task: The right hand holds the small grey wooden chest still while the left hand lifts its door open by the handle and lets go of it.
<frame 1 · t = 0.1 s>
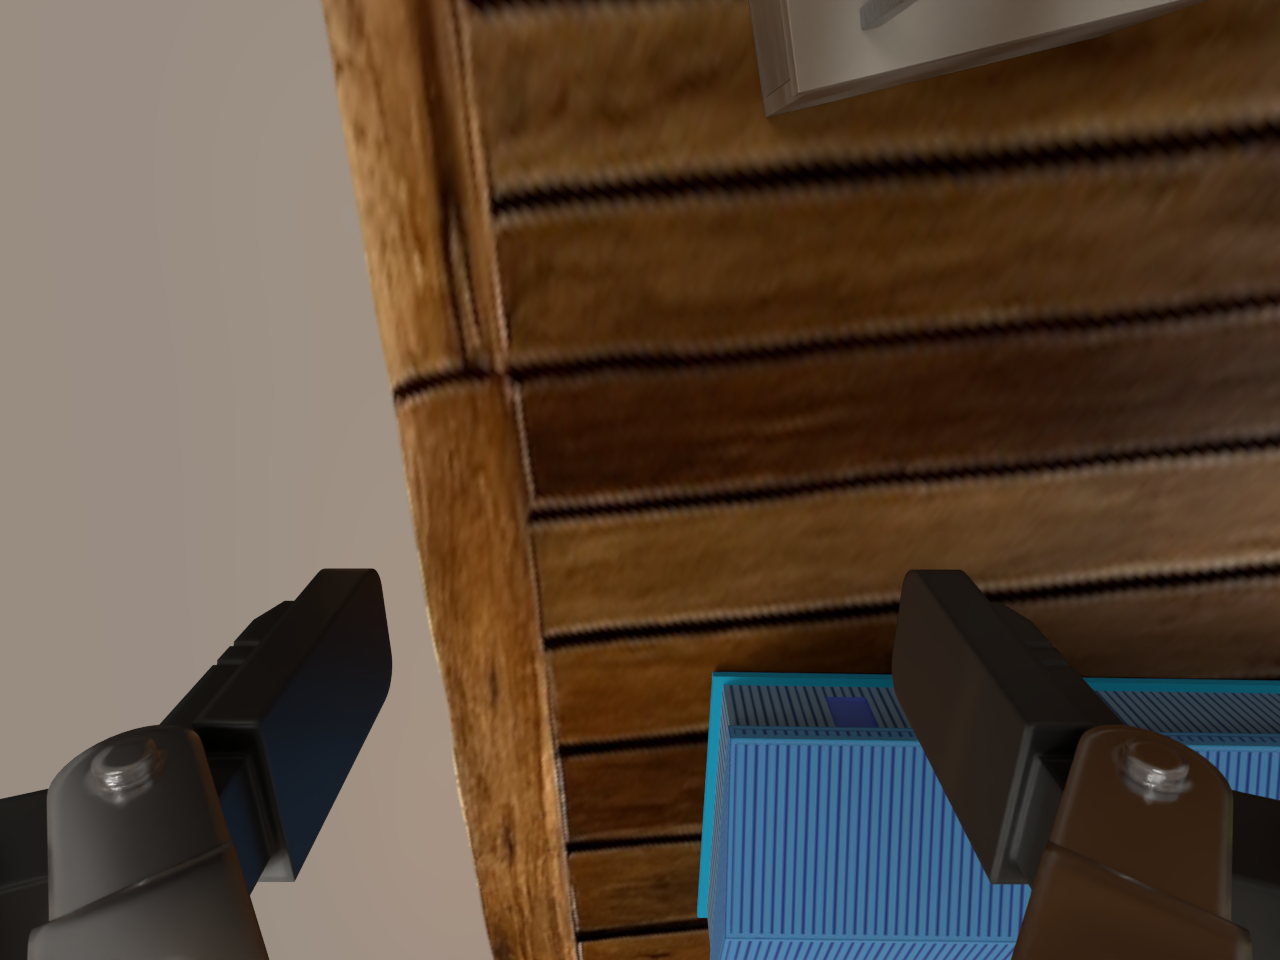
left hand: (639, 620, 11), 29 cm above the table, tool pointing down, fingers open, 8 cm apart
model building: (987, 817, 51), on the table
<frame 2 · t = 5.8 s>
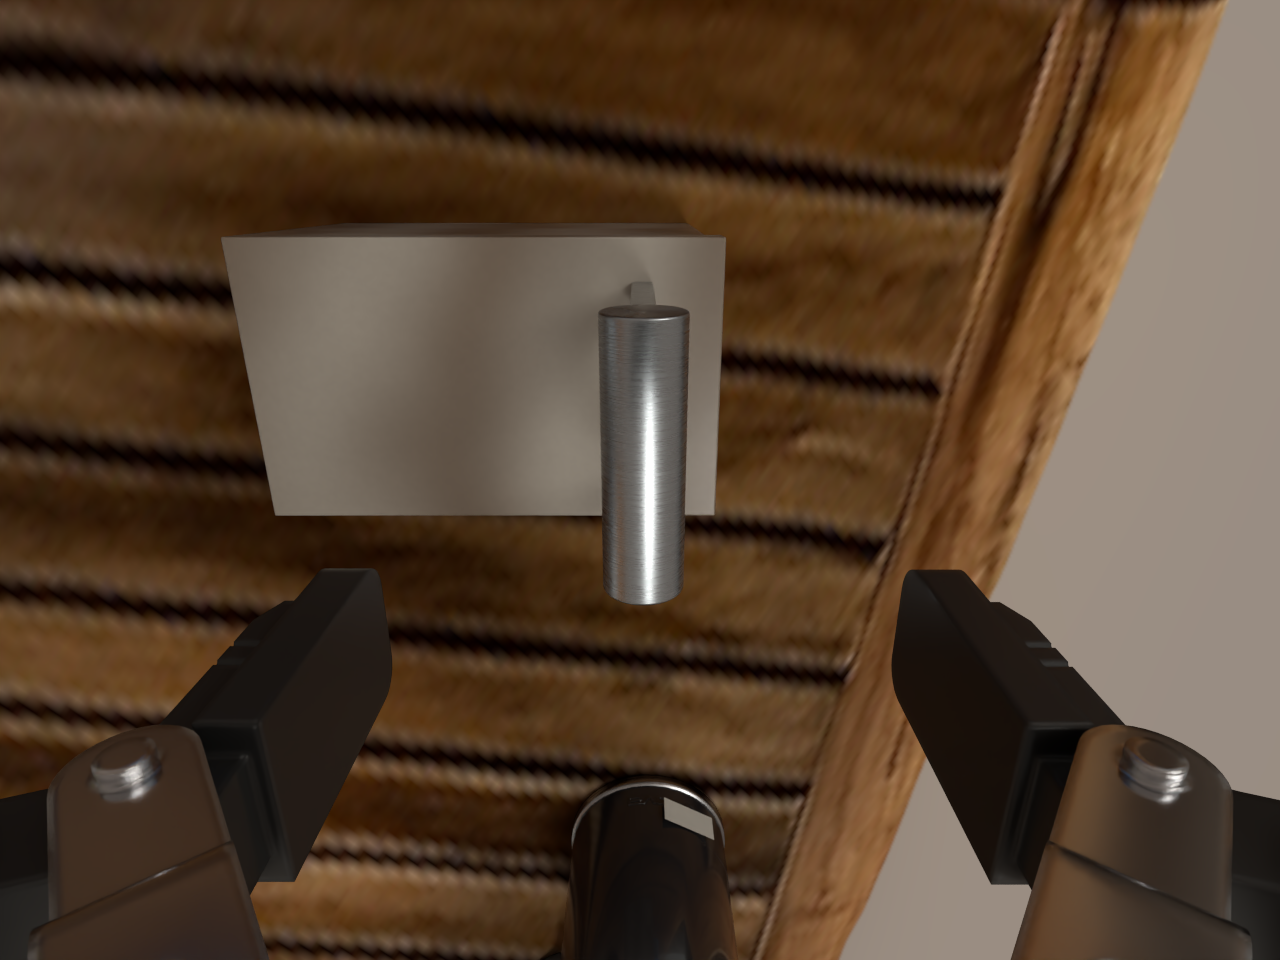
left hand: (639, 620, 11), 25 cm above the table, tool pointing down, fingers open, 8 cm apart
chest: (522, 330, 35), on the table
door: (461, 416, 22), point 14 cm above the table, hinge at 0.0°
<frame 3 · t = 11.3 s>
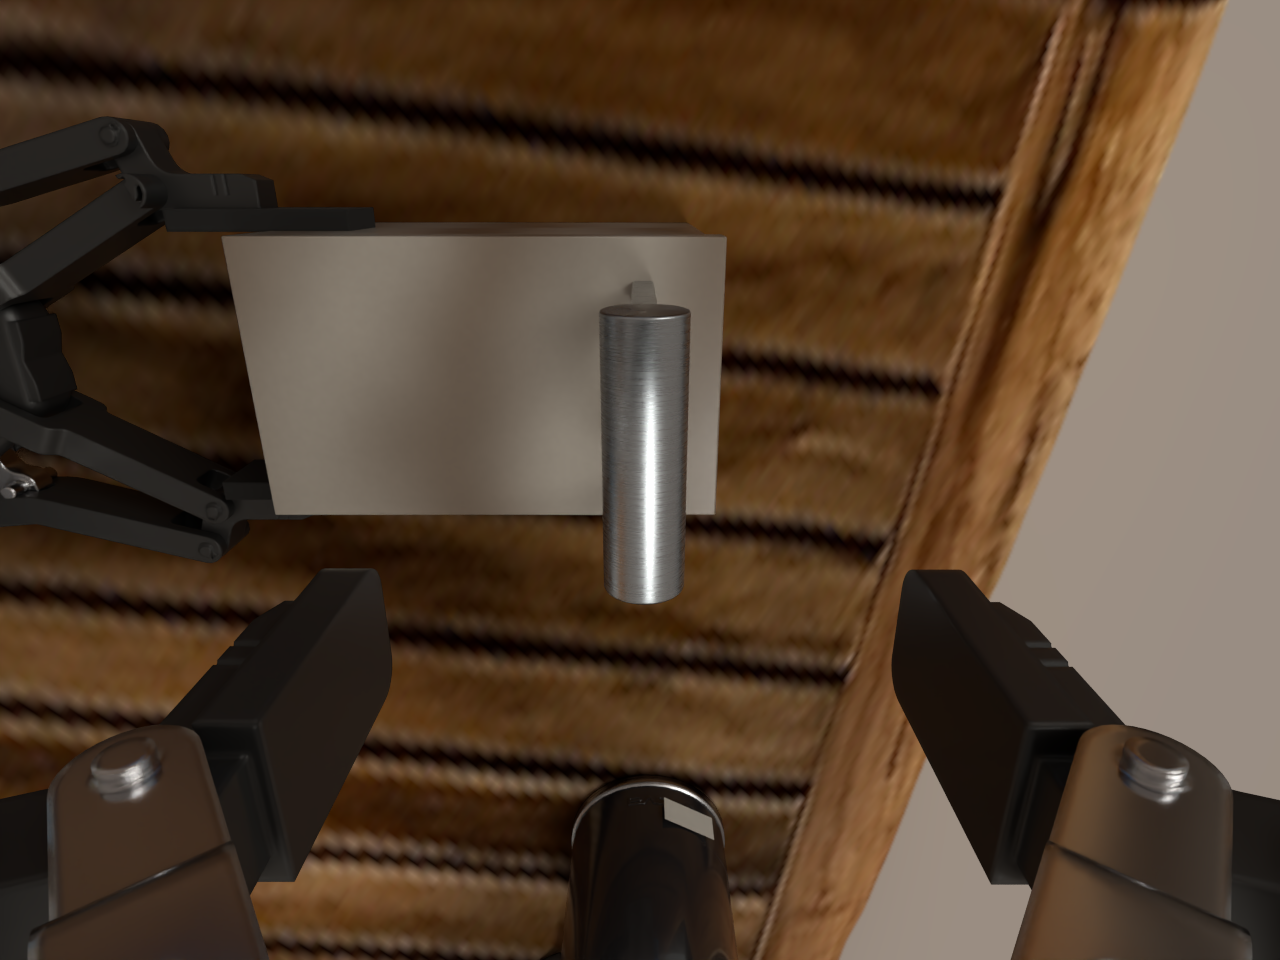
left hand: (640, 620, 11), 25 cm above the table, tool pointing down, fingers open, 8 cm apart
right hand: (379, 357, 29), fingers closed on chest, 10 cm apart
chest: (523, 330, 35), on the table, touching right hand
door: (461, 415, 22), point 14 cm above the table, hinge at 0.0°
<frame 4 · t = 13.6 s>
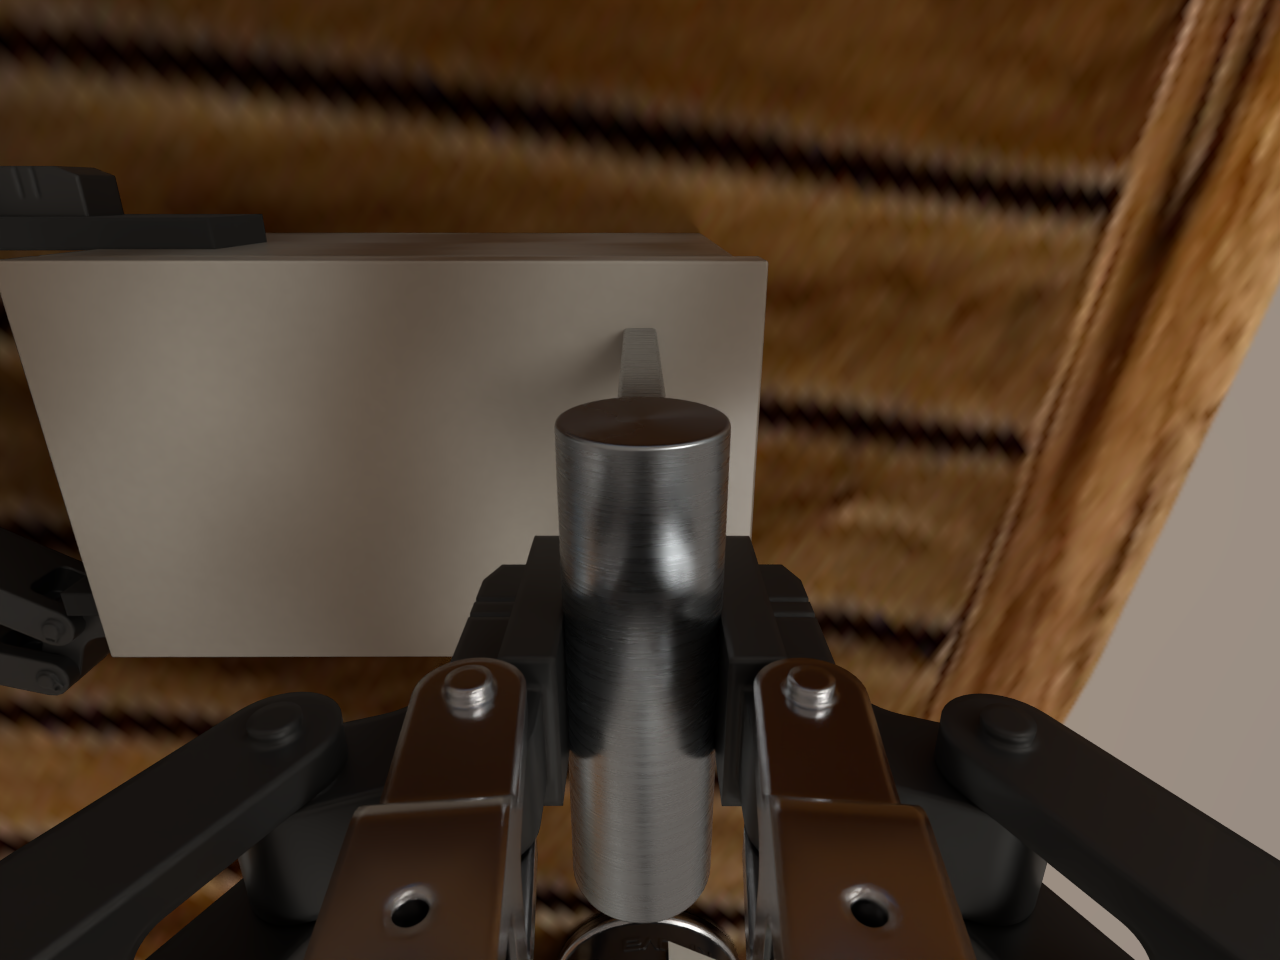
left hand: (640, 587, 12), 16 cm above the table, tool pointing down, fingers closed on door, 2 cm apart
chest: (484, 372, 27), on the table, touching right hand
door: (350, 550, 14), point 14 cm above the table, hinge at -0.1°, touching left hand
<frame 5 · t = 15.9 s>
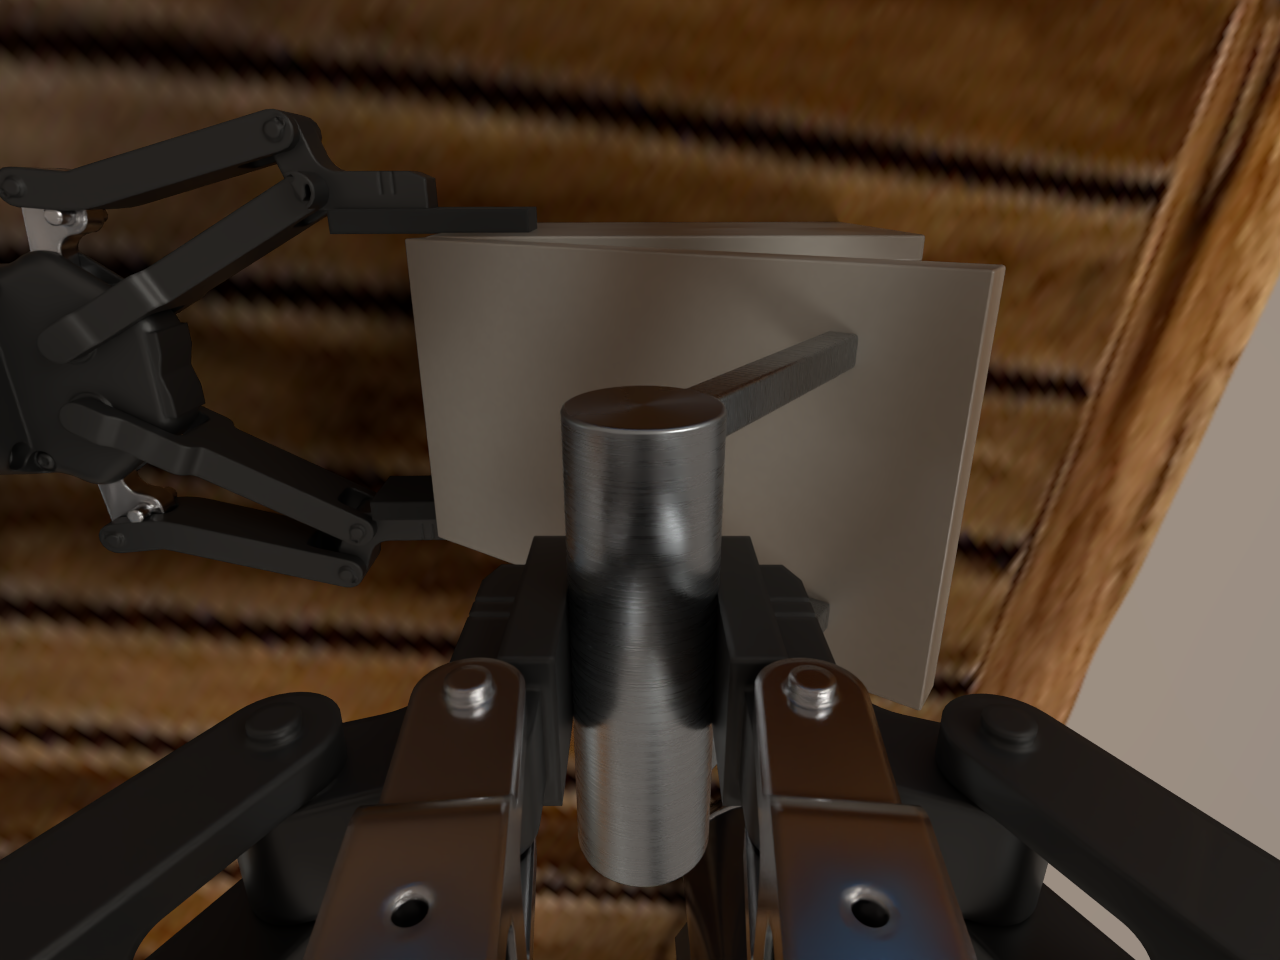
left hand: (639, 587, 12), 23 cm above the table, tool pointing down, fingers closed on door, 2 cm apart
right hand: (540, 366, 27), fingers closed on chest, 10 cm apart
chest: (659, 335, 33), on the table, touching right hand
door: (536, 488, 16), point 18 cm above the table, hinge at 36.0°, touching left hand
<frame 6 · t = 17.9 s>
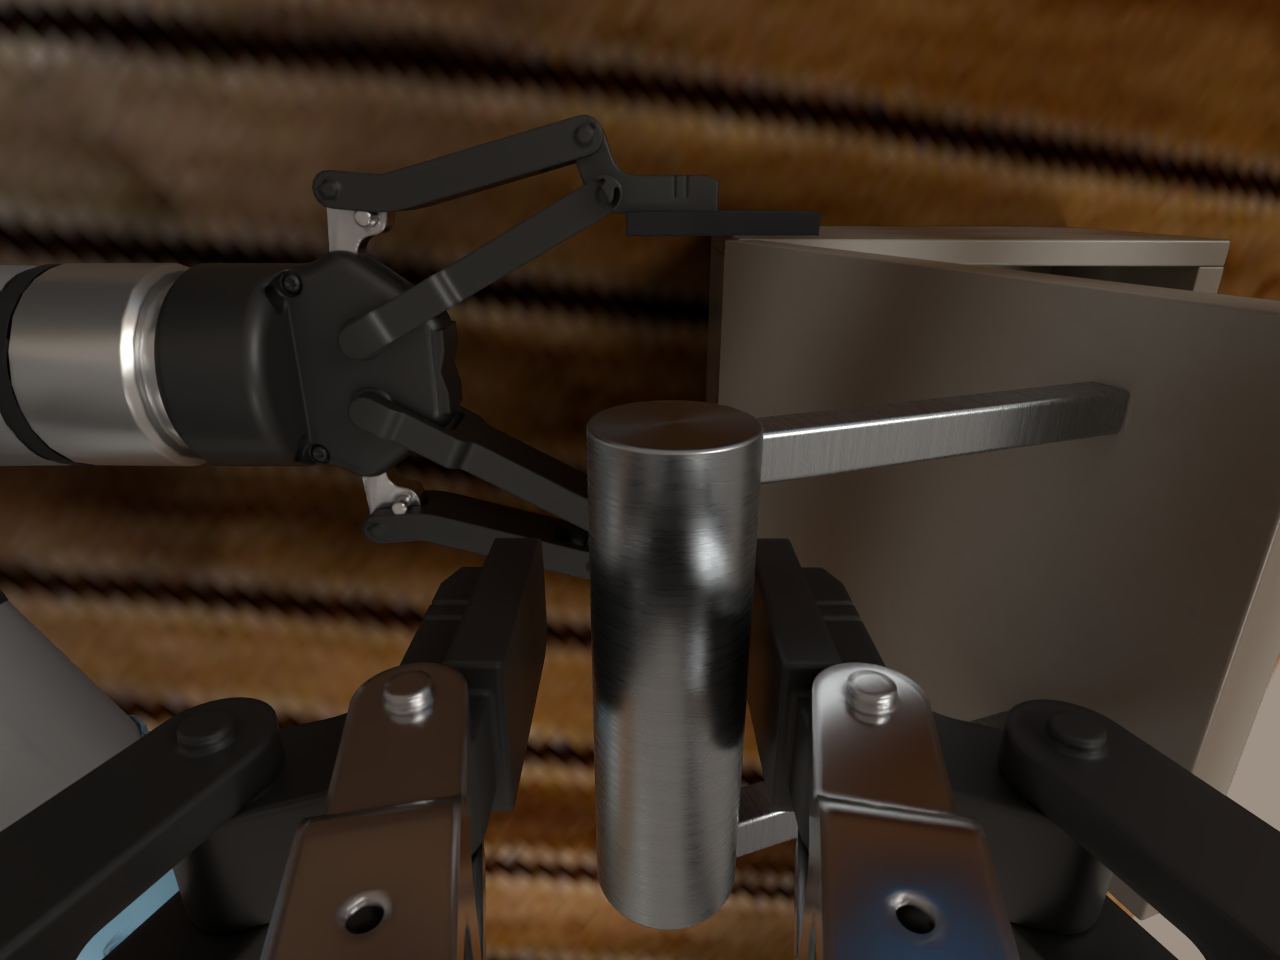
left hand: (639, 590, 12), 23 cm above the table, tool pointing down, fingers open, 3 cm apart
right hand: (799, 367, 28), fingers closed on chest, 10 cm apart
chest: (877, 337, 34), on the table, touching right hand
door: (730, 498, 16), point 19 cm above the table, hinge at 69.5°
when the right hand's fingers open (6 cm above the table, at t = 21.9 s): chest stays where it is, on the table.
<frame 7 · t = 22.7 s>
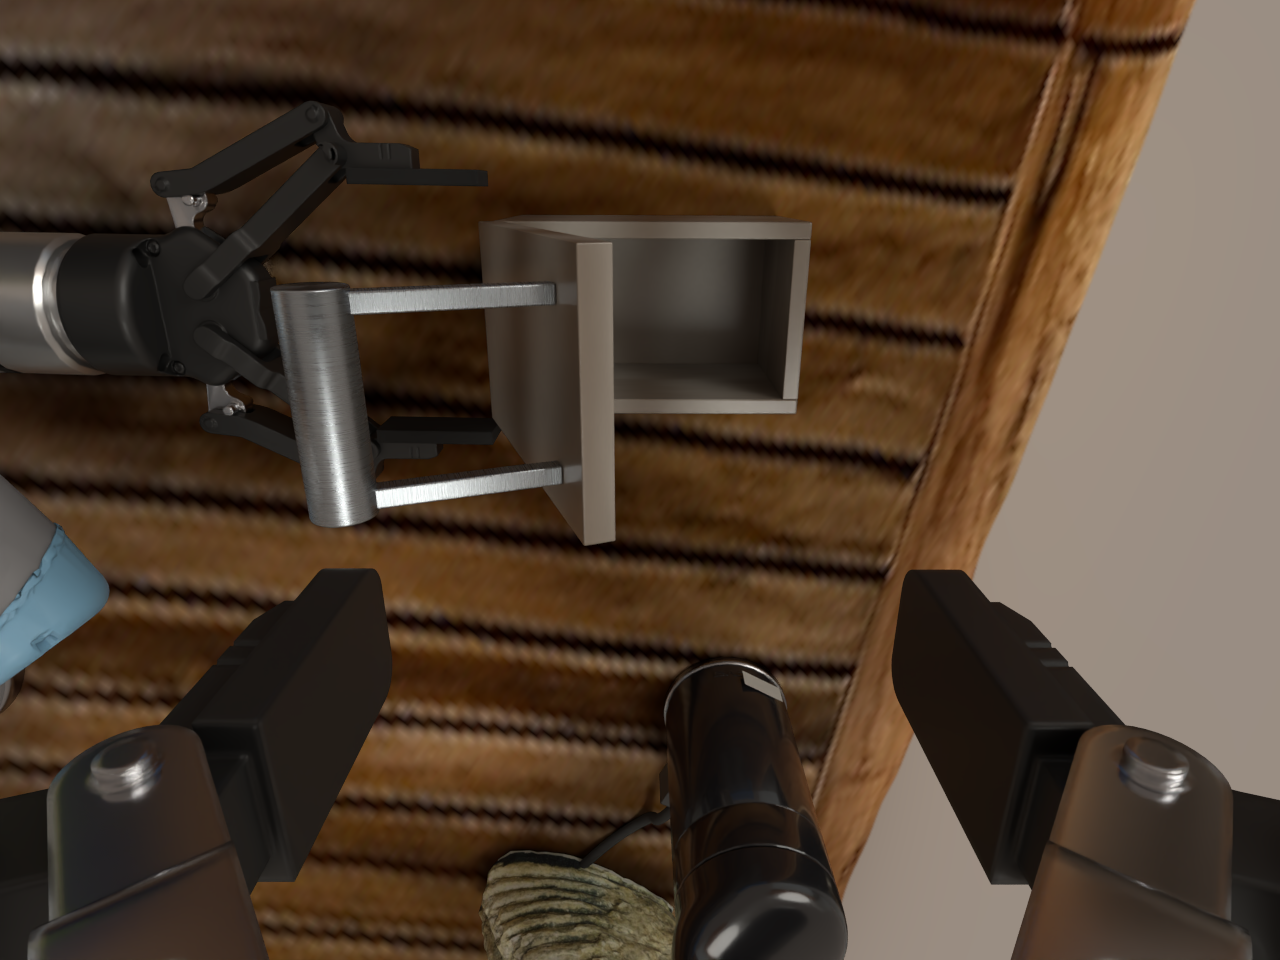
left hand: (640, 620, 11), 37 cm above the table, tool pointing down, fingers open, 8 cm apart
right hand: (491, 312, 41), fingers open, 13 cm apart
chest: (649, 297, 46), on the table
door: (430, 362, 29), point 19 cm above the table, hinge at 68.7°
fossil: (591, 892, 65), on the table
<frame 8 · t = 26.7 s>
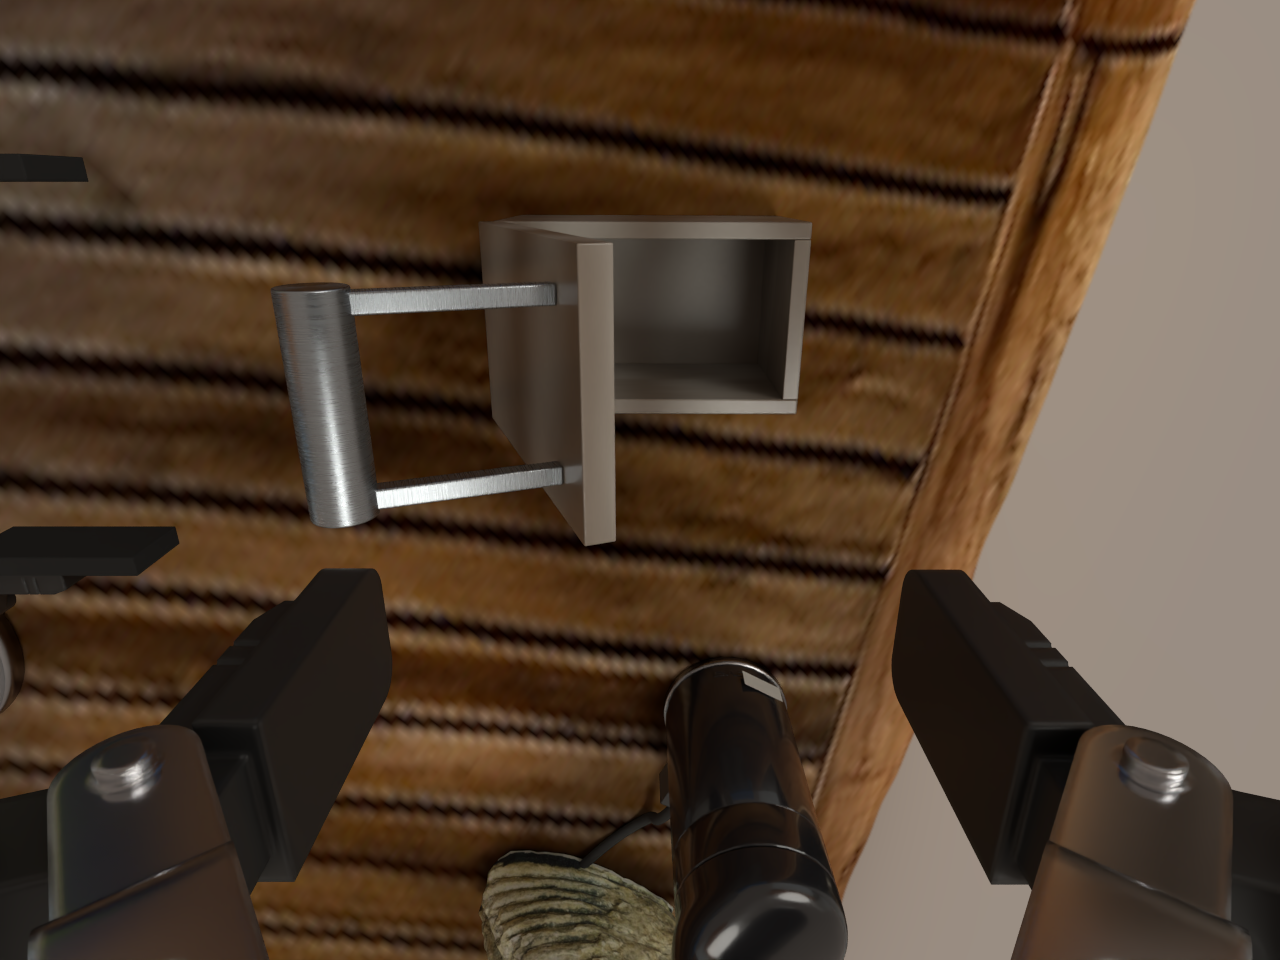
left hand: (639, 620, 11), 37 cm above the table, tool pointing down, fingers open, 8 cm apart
chest: (649, 297, 46), on the table
door: (430, 362, 29), point 19 cm above the table, hinge at 68.7°
fossil: (591, 892, 65), on the table
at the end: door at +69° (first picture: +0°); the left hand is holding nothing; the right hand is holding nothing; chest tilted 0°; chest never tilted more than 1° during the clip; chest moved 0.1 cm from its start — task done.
